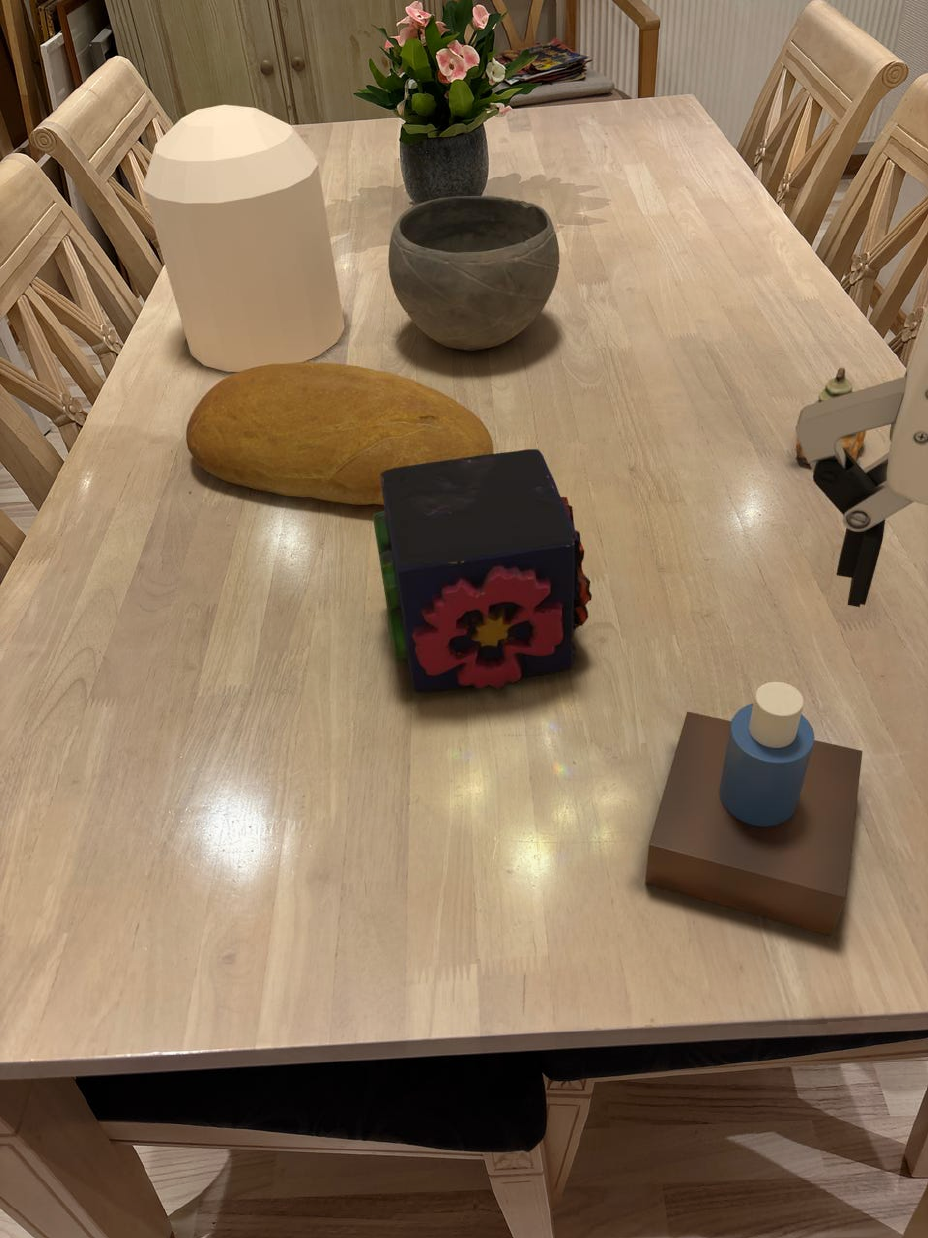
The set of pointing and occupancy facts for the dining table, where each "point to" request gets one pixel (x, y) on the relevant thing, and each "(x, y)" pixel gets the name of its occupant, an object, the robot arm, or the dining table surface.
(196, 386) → the dining table surface
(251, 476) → the bread
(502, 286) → the bowl
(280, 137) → the container
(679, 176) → the dining table surface
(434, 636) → the decorative cube
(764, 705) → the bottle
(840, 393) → the ornament
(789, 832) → the block
